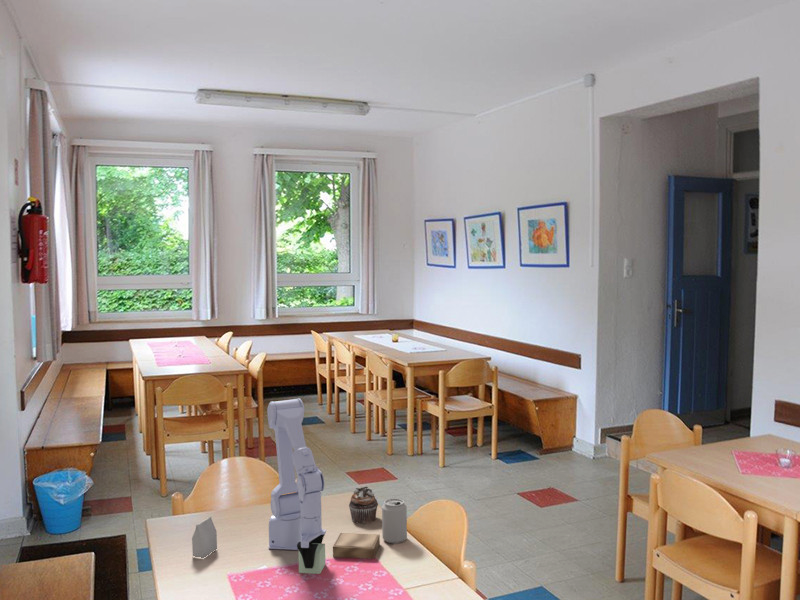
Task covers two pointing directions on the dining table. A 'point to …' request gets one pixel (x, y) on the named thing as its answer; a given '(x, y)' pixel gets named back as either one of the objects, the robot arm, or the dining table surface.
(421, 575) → the dining table surface
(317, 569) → the green cube
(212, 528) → the grey angular block
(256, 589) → the dining table surface
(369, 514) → the cupcake
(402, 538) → the can
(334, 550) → the brown shallow tray
